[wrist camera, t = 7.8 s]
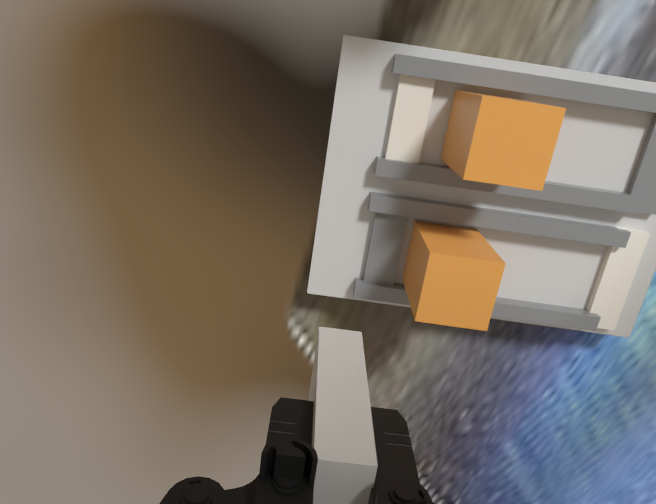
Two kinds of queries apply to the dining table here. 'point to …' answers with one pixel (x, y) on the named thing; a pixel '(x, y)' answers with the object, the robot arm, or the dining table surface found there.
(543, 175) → the orange block
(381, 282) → the switch board
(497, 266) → the tab
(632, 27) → the dining table surface
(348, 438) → the robot arm
